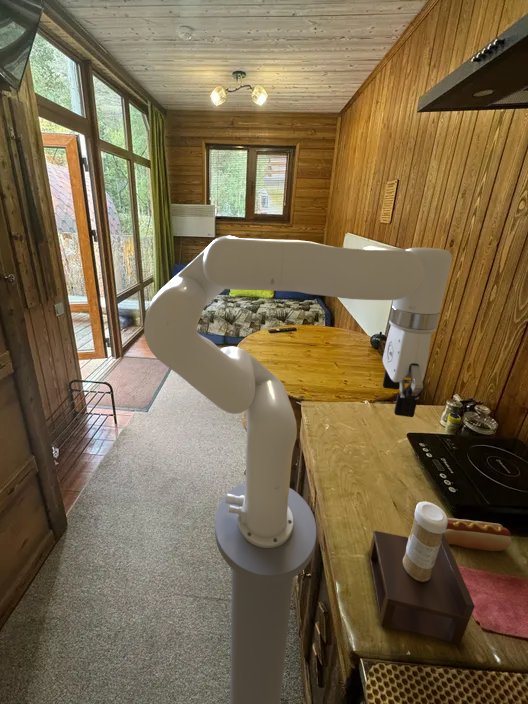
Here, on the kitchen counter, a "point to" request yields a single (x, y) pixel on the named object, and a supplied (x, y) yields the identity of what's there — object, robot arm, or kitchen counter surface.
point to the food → (477, 535)
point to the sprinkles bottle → (424, 540)
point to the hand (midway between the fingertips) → (396, 400)
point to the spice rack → (419, 592)
